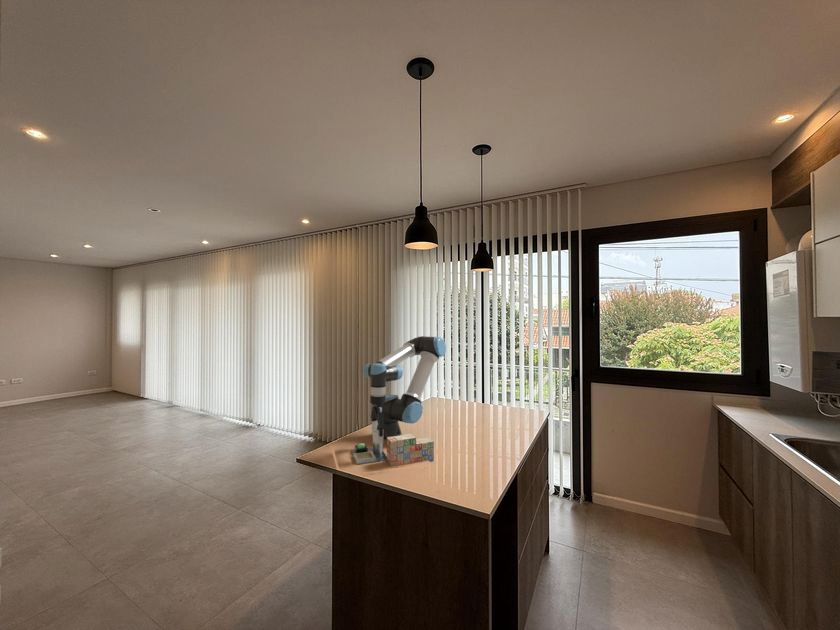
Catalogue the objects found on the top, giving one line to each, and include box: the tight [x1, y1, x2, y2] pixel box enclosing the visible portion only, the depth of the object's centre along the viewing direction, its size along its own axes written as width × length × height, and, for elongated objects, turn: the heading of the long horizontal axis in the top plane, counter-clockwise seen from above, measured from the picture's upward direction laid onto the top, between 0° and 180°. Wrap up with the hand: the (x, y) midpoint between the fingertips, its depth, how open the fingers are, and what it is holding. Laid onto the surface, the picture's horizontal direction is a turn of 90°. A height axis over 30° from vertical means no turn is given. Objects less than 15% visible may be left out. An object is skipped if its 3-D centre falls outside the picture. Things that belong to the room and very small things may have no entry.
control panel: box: [350, 443, 387, 466], centre depth 163 cm, size 15×19×4 cm
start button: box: [356, 443, 366, 449], centre depth 167 cm, size 4×4×3 cm
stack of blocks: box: [386, 433, 435, 469], centre depth 158 cm, size 21×6×12 cm, turn 113°
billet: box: [372, 430, 384, 454], centre depth 167 cm, size 5×5×10 cm
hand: (377, 438), depth 167 cm, fingers open, 13 cm apart
